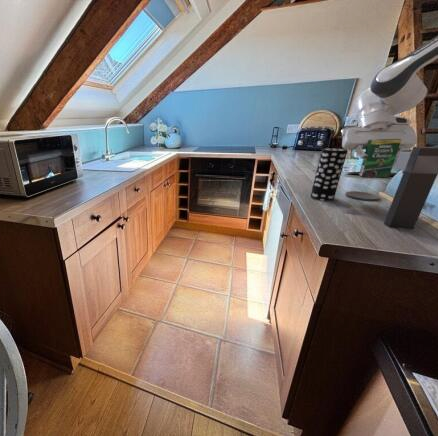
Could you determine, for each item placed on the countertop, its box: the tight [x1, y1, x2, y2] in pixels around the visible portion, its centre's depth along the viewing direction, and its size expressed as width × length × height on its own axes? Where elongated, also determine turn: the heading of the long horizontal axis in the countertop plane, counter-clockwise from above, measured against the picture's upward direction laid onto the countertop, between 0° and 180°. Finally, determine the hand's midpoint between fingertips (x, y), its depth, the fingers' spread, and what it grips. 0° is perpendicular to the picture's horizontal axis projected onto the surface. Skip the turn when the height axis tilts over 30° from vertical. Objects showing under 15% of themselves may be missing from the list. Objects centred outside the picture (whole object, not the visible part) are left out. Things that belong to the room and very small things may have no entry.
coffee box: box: [358, 139, 401, 179], centre depth 84 cm, size 8×3×13 cm, turn 68°
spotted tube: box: [309, 147, 349, 202], centre depth 99 cm, size 8×8×20 cm
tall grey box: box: [383, 146, 438, 230], centre depth 74 cm, size 8×6×24 cm
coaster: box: [344, 190, 380, 202], centre depth 103 cm, size 11×11×1 cm
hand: (380, 157), depth 83 cm, fingers closed on coffee box, 8 cm apart
